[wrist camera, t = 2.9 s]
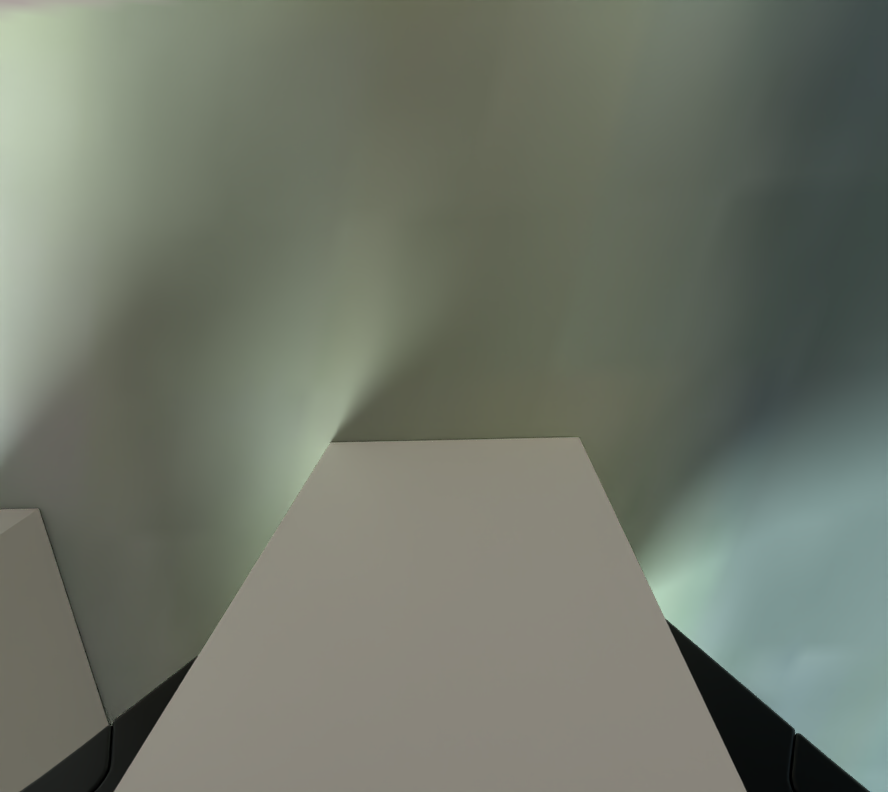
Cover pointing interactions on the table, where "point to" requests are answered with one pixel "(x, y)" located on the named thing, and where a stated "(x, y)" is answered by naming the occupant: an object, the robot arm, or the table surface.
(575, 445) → the block
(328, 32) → the table surface
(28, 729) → the wall stub
